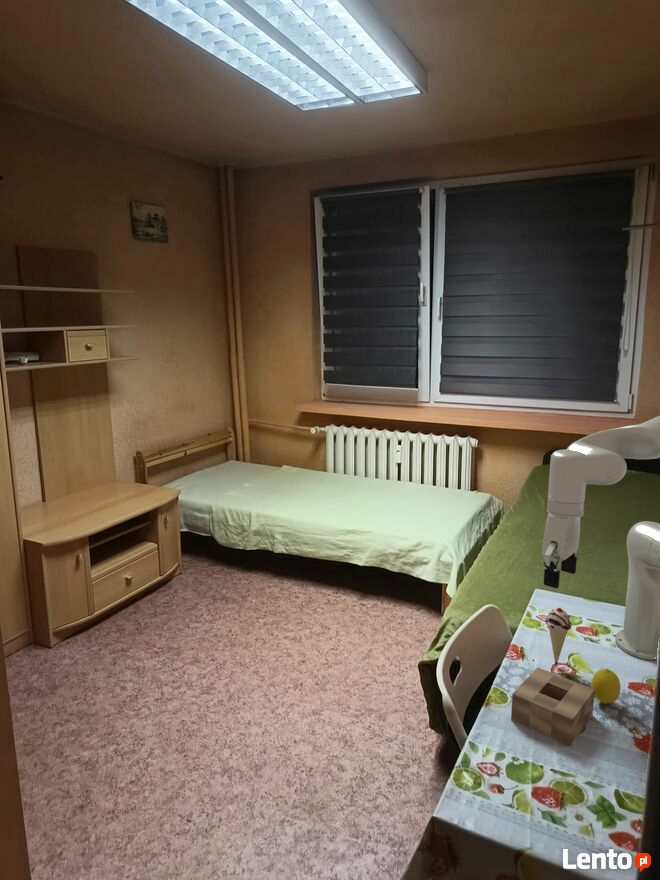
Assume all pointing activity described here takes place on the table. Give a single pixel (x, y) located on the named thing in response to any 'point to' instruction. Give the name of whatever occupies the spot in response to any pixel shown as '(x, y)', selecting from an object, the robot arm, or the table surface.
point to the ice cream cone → (558, 630)
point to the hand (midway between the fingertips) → (559, 578)
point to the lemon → (606, 686)
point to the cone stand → (553, 706)
